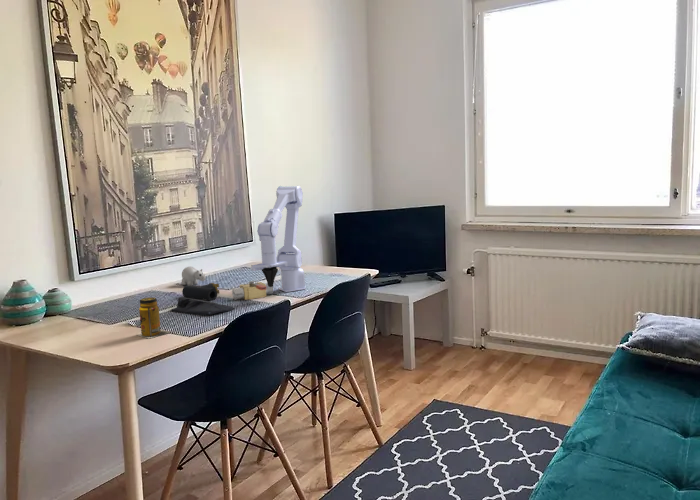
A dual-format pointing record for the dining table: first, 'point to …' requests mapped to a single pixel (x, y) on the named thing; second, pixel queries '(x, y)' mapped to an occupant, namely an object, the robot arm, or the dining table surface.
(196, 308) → the dark slate chunk
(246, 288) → the valve
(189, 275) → the chubby cartoon animal
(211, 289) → the pipe connector
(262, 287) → the lever
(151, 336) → the condiment
